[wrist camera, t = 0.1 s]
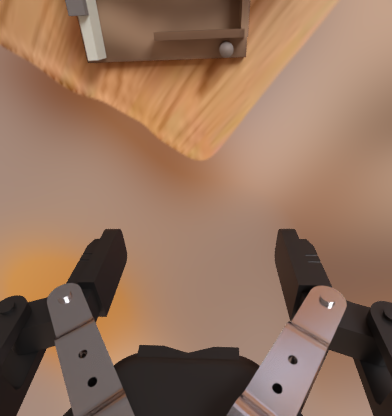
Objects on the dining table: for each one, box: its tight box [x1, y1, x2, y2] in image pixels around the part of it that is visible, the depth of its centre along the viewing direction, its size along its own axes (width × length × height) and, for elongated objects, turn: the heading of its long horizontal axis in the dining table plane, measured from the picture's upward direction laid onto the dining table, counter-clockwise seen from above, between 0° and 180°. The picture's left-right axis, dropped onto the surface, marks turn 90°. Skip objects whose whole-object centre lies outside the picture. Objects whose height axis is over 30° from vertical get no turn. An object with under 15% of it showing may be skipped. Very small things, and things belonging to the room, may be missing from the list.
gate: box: [65, 0, 106, 61], centre depth 30 cm, size 11×2×4 cm, turn 2°
